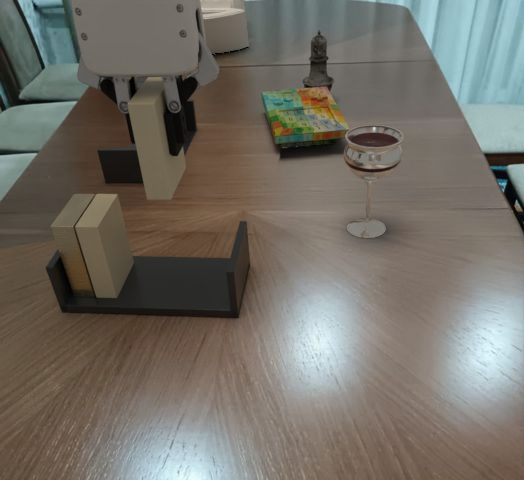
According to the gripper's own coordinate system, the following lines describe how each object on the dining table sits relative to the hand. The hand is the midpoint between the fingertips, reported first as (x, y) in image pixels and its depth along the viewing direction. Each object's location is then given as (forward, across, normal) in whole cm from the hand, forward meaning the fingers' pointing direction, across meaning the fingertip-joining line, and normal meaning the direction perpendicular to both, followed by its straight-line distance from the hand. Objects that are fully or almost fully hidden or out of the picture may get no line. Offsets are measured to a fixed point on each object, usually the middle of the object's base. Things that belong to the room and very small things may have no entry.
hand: (161, 148), depth 55 cm
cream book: (+4, 0, 0) cm, 4 cm away
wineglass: (+17, -21, -14) cm, 30 cm away
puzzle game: (+17, -11, -45) cm, 49 cm away
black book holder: (+17, +3, 0) cm, 17 cm away
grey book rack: (+16, +12, -34) cm, 40 cm away
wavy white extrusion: (+17, +14, -103) cm, 105 cm away
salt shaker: (+17, -13, -60) cm, 64 cm away
